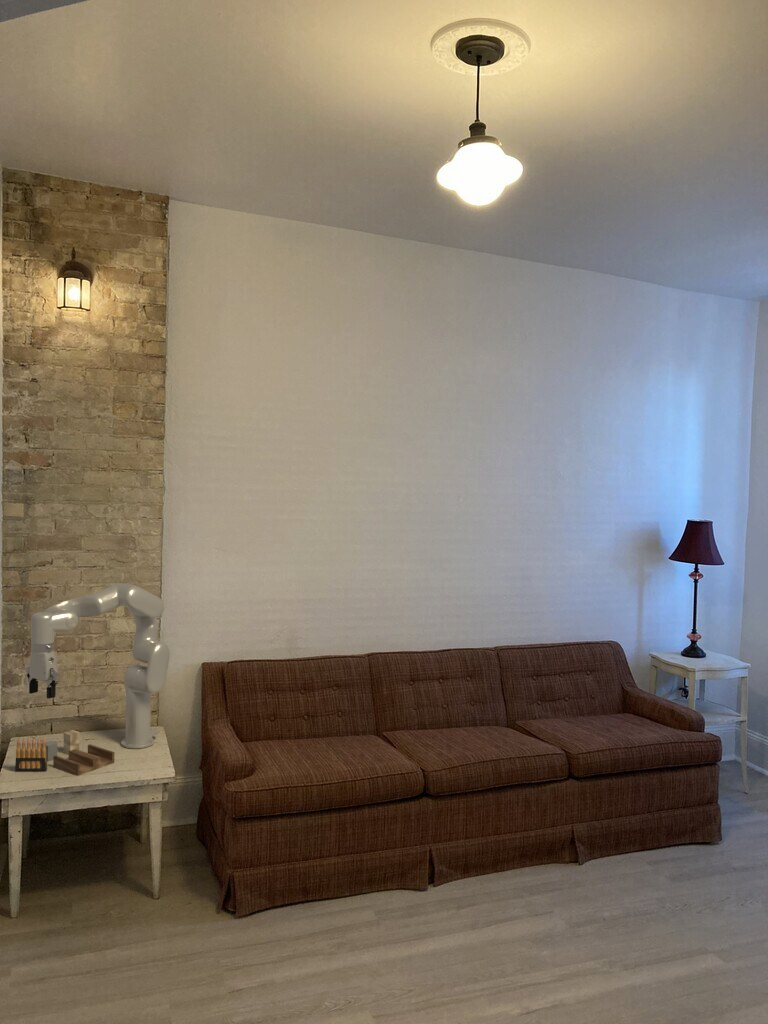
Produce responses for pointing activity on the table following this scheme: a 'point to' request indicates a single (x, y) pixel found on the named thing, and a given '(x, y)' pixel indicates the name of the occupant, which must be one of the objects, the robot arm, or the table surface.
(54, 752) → the rubber block
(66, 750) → the birch block
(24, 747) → the ammunition clip
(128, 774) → the table surface
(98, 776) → the table surface
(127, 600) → the robot arm
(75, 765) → the slot rack
